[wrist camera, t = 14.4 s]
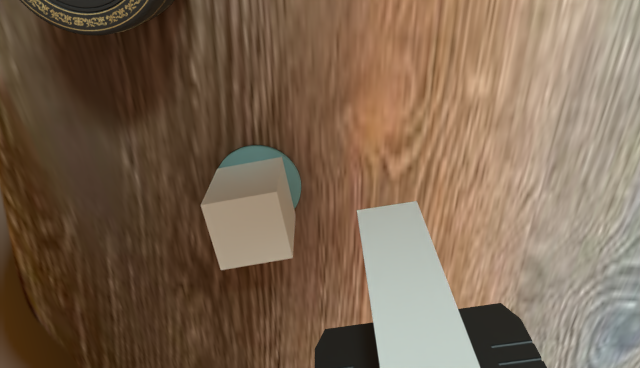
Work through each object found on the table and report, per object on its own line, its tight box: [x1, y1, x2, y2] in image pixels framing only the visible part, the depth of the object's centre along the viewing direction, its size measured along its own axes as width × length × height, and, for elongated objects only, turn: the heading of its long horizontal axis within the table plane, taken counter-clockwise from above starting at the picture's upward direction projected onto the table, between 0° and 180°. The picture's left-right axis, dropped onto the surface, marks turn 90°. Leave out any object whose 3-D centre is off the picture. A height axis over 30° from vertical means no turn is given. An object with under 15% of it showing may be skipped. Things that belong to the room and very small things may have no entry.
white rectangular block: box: [201, 157, 296, 270], centre depth 39 cm, size 5×5×7 cm
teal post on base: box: [219, 145, 301, 209], centre depth 39 cm, size 7×7×7 cm
